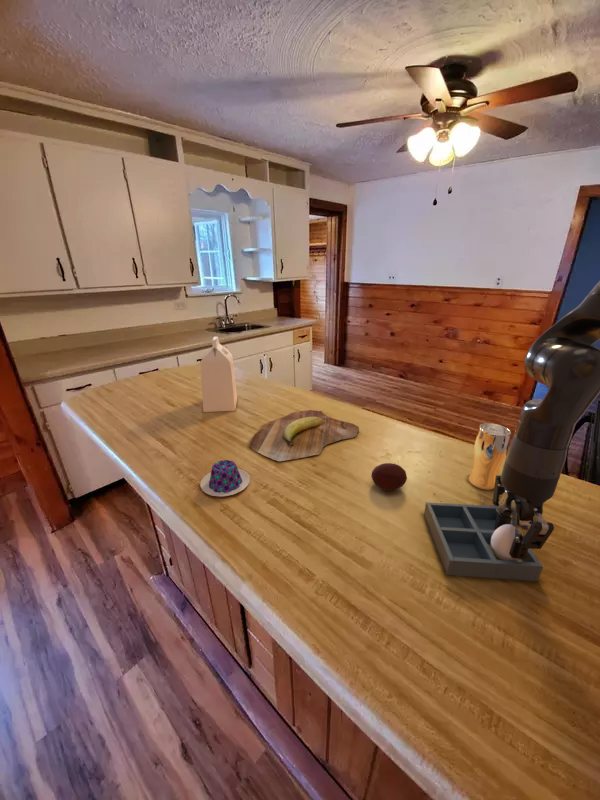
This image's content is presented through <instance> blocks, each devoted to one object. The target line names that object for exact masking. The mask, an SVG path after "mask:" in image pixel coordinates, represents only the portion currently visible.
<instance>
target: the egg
mask: <svg viewBox="0 0 600 800" xmlns="http://www.w3.org/2000/svg"><path fill="white" fill-rule="evenodd" d="M522 535H524V533H523V532H522ZM514 539H515V527H513V525H511V524H505V525H502V526H500V527H499V528H497V529H496V530H495V531H494V533H493V535H492V537H491V547H492V550H493V552H494V554H495V555H496V556H497V557H498V558H499V559H500V560H502V561H518V560H519V559H514V558H512V557H511V556H510V554H509V553H510V549H511V546H512V543H513V540H514Z"/></svg>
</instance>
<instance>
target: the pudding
mask: <svg viewBox="0 0 600 800" xmlns="http://www.w3.org/2000/svg"><path fill="white" fill-rule="evenodd" d="M250 481H251V476H250V475H249V473H248V472H246V470H243V469H242V468H239V467H238V466H237V464H236V462H235V461H233V460H229V459H224V460H219V461H217V462H216V463H215V462H214V463H213V465H212V467H211V471H210V472H208V473H207V474H205V475H204V476H203V477H202V478H201V480H200V483H199V485H200V486H199V487H200V489H201V490H202V492H204V493H205V494H206V495H209V496H212V497H228V496H234V495H236V494H238V493H240V492H242V491H244V490H245V489H246V488H247V487H248V486H249V483H250Z"/></svg>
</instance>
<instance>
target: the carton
mask: <svg viewBox="0 0 600 800" xmlns="http://www.w3.org/2000/svg"><path fill="white" fill-rule="evenodd" d="M496 509H497V506H494V505H486V504H485V505H484V504H466V503H465V504H464V503H445V502H444V503H443V502H431V501H430V502H425V505H424V513H423V516H424V519H425V521H426V524H427V526H428V530H429V532H430V534H431V537H432V540H433V542H434V545H435V547H436V550H437V553H438V556H439V558H440V561H441V563H442V566H443V568H444V572H445V574H446V576H459V577H473V578H485V579H486V578H487V579H488V578H489V579H500V580H515V581H516V580H518V581H530V582H539V580H540V577H541V574H542V571H543V569H544V565H543V564H542V563H541V561H540V560H539V559H538V557H537V555H536V554H535V553H534V551H533V549H530V548H529V549H528V552H527V555H526V557H525V558H524V559H519V560H518V561H502V560H500V559H499V558H498V557H497V556H496V555H495V554H494V552H493V550H492V547H491V537H492V535H493V533H494V531H495V530H494V527H495V523H496V520H497V516H498V514H497V513H496ZM510 524H511V525H512V521H511V523H510Z"/></svg>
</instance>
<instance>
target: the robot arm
mask: <svg viewBox="0 0 600 800" xmlns="http://www.w3.org/2000/svg"><path fill="white" fill-rule="evenodd" d="M599 341H600V280H599V281H597V283H596V284H595V285H594V286H593V288H592V289H591V290H590V292H588V294H587V295H586V296H585V298H584V299H583V300H582V301H581V303H580V304H579V305H578V306H577V307H575V308H574V309H572V310H571V311H569V312H568V313H567V314H565V315H564V316H563V317H561V319H559V320H558V321H557V322H556V323H554V324H553V325H552V326H550V327H549V328H548V329H547V330H545V331H544V332H543V333H542V334H540V336H538V338H537V339H536V340H535V341H533V343H532V344H531V346H530V347H529V348H528V350H527V352H526V354H525V357H524V360H523V361H524V362H523V367H524V371H525V373H526V375H527V376H528V377H529V378H531V380H533V381H536V382H538V383H540V384H542V385H544V386H545V387H548V388H547V392H546V393H545V395H544V397H543V398H533V399H529V400H527V401H526V402H524V404H523V406H522V408H521V409H520V413H519V416H518V420H517V424H516V426H515V431H514V434H513V436H512V439H510V442H509V446H508V450H507V453H506V456H505V459H504V462H503V467H502V472H501V474H500V475H498V474H497V476H496V479H495V486H494V489H493V495H492V506H497V509H496V513H497V514H498V516H497V520H496V523H495V527H494V530H496V529H497V528H499V527H500V526H502V525H505V524H510V523H511V522H512V525H513V527H515V539H514V540H513V543H512V546H511V549H510V553H509V554H510V556H511V557H512V558H514V559H524V558H525V557H526V555H527V552H528V549H529V548H530V549H531V550H533V549H534V550H541V549H542V548H543V547H544V545H545V543H547V541H548V539H549V537H550V536H551V535H552V533H553V532H554V530H555V527H554V524H553V523H552V522H546V520H545V519H544V517H543V513H544V508H543V507H544V504H545V502H547V501H549V500H550V499H552V498H553V497H554V494H555V492H556V489H557V486H558V483H559V481H560V479H561V475H562V472H563V469H564V466H565V463H566V461H567V455H568V454H567V453H568V448H569V446H570V445H569V444H570V443H571V440H572V437H573V434H574V431H575V427H576V425H577V423H578V422H579V420H580V419H581V418H582V416H584V415H585V413H586V411H587V410H588V409H589V407H590V406H591V405H592V403H593V402H594V401H595V400H596V398H597V397H598V396H599V394H600V349H599V348H598V347H595V346H593V345H595V344H596V343H597V342H599ZM501 495H502V497H500V496H501ZM523 531H526V533H525V535H524V534H523V535H522V533H523Z"/></svg>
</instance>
